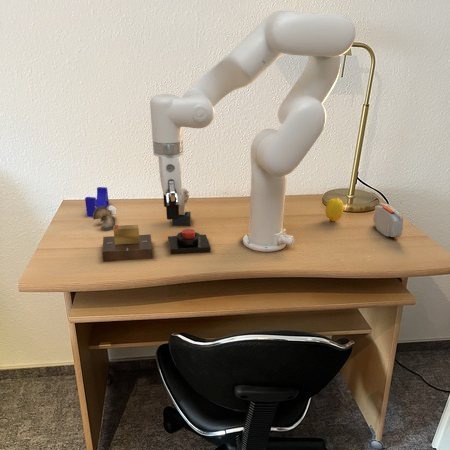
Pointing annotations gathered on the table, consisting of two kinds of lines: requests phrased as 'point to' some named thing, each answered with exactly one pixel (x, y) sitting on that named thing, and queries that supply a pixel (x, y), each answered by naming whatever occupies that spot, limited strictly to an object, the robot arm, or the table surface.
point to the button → (188, 233)
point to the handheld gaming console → (388, 220)
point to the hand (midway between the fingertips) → (171, 212)
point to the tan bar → (126, 234)
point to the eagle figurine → (105, 216)
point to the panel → (127, 249)
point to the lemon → (334, 209)
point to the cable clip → (97, 201)
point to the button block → (188, 244)
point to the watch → (182, 210)
